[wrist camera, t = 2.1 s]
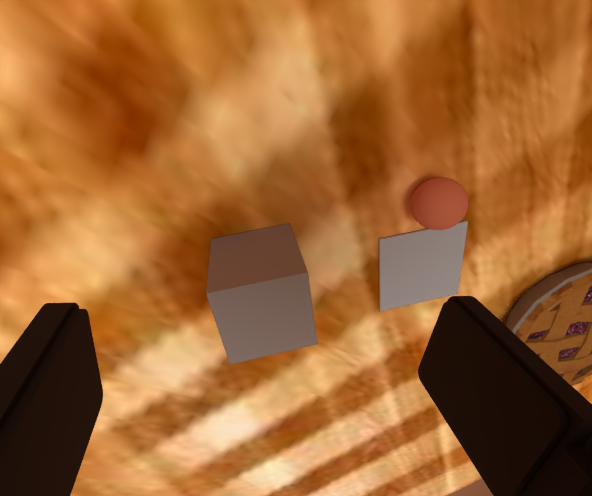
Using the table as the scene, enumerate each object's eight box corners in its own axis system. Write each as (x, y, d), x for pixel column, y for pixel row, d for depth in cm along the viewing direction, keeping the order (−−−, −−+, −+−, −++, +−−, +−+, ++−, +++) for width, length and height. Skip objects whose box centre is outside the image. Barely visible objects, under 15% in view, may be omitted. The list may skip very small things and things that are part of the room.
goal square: (466, 220, 37) (468, 221, 37) (456, 292, 42) (457, 293, 42) (378, 238, 36) (379, 239, 36) (379, 310, 41) (380, 311, 41)
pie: (657, 229, 43) (705, 249, 39) (610, 348, 54) (643, 373, 50) (497, 274, 42) (527, 299, 38) (482, 385, 53) (504, 414, 49)
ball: (451, 166, 33) (484, 182, 29) (446, 212, 36) (476, 233, 32) (403, 175, 33) (429, 193, 29) (401, 221, 36) (425, 244, 31)
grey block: (289, 223, 33) (307, 272, 26) (299, 285, 37) (317, 344, 30) (211, 238, 33) (206, 293, 25) (229, 300, 37) (230, 364, 29)
